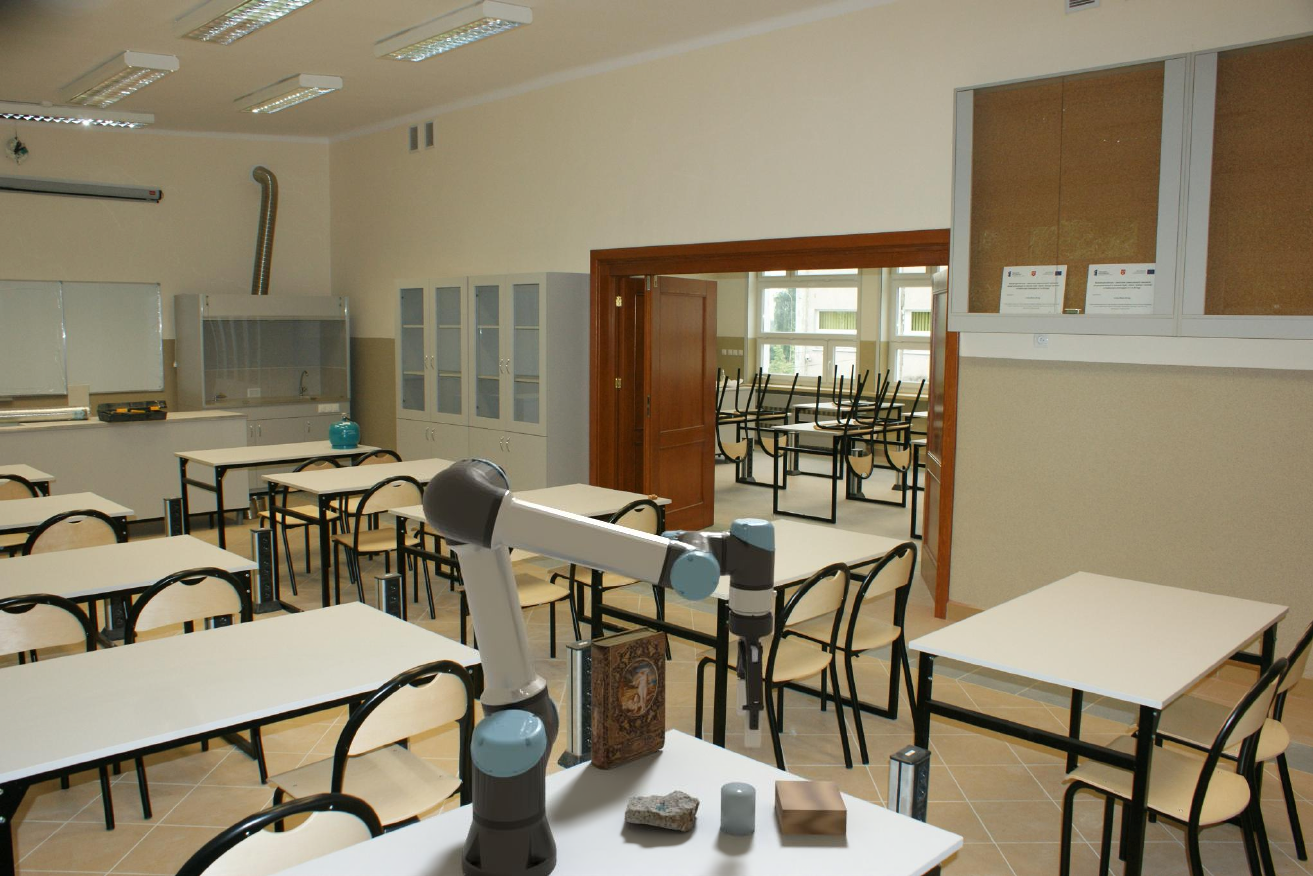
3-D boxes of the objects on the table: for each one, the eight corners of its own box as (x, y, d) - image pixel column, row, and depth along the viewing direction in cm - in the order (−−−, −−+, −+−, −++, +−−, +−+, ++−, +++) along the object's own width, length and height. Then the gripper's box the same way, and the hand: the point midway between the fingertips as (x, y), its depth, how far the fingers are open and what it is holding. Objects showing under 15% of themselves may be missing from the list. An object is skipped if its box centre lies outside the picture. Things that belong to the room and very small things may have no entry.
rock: (620, 832, 166) (620, 804, 166) (631, 808, 176) (630, 781, 175) (695, 837, 164) (694, 808, 164) (701, 812, 174) (701, 785, 173)
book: (604, 771, 191) (604, 647, 188) (586, 762, 195) (586, 641, 192) (665, 748, 202) (666, 631, 200) (647, 740, 206) (648, 625, 204)
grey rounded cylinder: (721, 837, 166) (722, 798, 165) (719, 820, 172) (719, 782, 171) (756, 837, 166) (757, 798, 165) (753, 820, 172) (753, 782, 171)
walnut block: (781, 837, 166) (782, 809, 166) (774, 806, 177) (775, 780, 177) (846, 838, 166) (846, 810, 166) (834, 807, 177) (835, 781, 177)
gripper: (783, 631, 153) (779, 761, 155) (764, 591, 178) (761, 703, 180) (736, 631, 153) (733, 760, 155) (723, 591, 178) (720, 703, 180)
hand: (748, 730), depth 167 cm, fingers open, 13 cm apart
